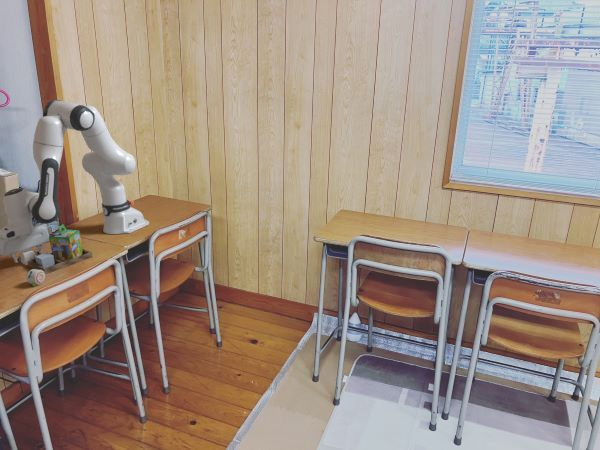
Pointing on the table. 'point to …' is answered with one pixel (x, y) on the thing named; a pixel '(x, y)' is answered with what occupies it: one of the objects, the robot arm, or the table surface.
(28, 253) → the eraser
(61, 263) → the divider frame
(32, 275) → the roller toy
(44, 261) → the slate cube
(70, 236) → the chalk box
